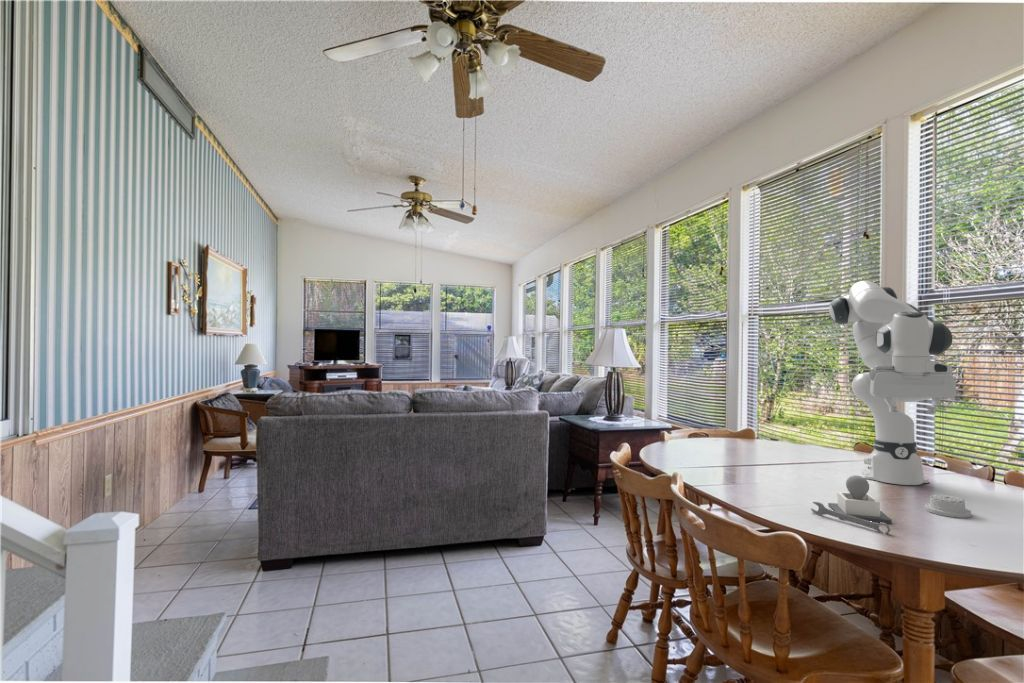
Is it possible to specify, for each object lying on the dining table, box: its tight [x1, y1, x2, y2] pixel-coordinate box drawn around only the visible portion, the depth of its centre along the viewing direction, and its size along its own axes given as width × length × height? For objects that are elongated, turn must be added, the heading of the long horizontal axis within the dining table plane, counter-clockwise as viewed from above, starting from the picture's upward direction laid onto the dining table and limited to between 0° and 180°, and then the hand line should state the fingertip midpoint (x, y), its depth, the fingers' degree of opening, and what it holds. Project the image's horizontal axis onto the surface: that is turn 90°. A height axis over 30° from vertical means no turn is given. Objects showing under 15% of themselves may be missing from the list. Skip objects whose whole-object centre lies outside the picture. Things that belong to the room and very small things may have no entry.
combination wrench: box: [810, 501, 891, 535], centre depth 133 cm, size 4×1×20 cm
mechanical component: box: [924, 494, 972, 519], centre depth 141 cm, size 10×4×10 cm
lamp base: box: [827, 491, 893, 524], centre depth 140 cm, size 12×12×5 cm
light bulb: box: [845, 474, 870, 500], centre depth 140 cm, size 6×6×10 cm
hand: (911, 412), depth 145 cm, fingers open, 8 cm apart
